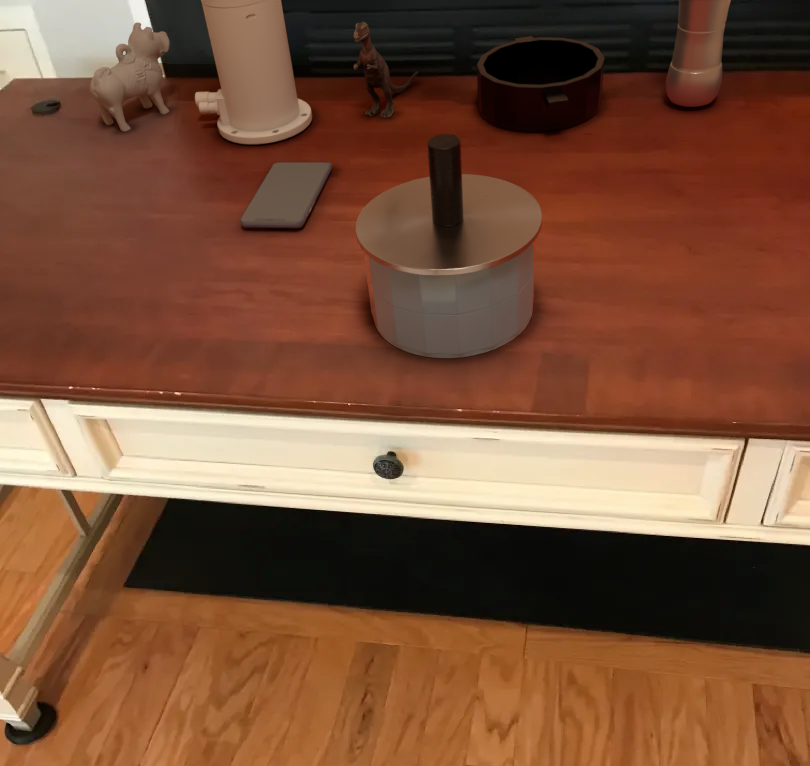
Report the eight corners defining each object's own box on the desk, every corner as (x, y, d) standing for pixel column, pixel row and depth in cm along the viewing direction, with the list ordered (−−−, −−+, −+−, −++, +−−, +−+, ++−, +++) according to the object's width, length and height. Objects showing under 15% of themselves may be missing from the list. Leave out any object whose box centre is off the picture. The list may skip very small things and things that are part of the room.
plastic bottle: (718, 113, 111) (751, -76, 96) (662, 113, 112) (685, -74, 98) (717, 91, 115) (748, -94, 100) (663, 91, 116) (685, -91, 102)
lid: (364, 294, 76) (352, 202, 70) (350, 198, 87) (338, 112, 81) (560, 267, 76) (565, 173, 70) (521, 175, 87) (522, 88, 81)
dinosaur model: (345, 25, 109) (396, -10, 118) (351, 124, 117) (397, 85, 127) (375, 28, 108) (424, -7, 117) (378, 129, 116) (424, 88, 126)
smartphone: (333, 161, 109) (301, 222, 99) (334, 168, 110) (303, 231, 100) (274, 161, 111) (237, 222, 101) (275, 168, 111) (238, 230, 102)
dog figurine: (192, 102, 127) (172, 19, 119) (118, 136, 122) (92, 51, 114) (169, 93, 130) (148, 12, 122) (96, 126, 124) (69, 43, 116)
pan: (494, 149, 110) (493, 103, 106) (467, 82, 124) (465, 39, 120) (620, 132, 110) (624, 86, 106) (578, 67, 124) (581, 23, 120)
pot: (360, 356, 84) (347, 271, 77) (387, 265, 94) (378, 183, 88) (528, 360, 82) (529, 273, 75) (537, 266, 92) (539, 182, 85)
